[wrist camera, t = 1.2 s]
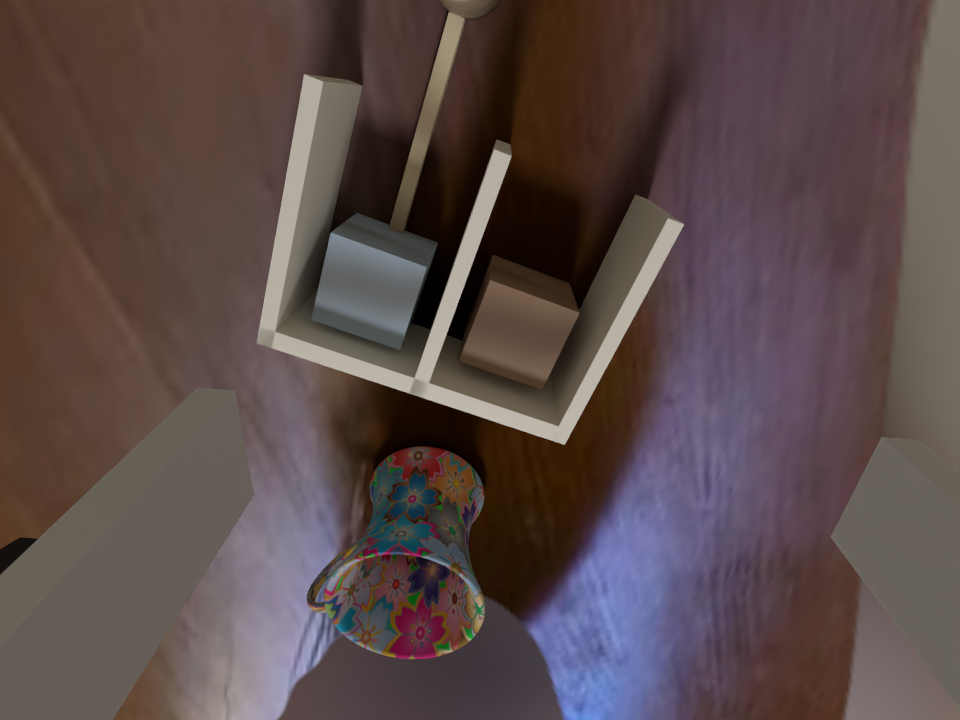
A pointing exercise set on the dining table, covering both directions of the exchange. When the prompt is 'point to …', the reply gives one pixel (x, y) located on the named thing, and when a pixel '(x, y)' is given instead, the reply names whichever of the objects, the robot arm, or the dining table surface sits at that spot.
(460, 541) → the mug
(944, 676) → the robot arm
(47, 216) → the dining table surface
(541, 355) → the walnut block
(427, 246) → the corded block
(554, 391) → the lane rack
